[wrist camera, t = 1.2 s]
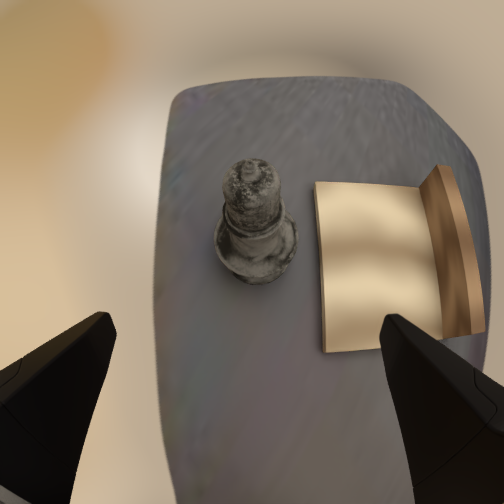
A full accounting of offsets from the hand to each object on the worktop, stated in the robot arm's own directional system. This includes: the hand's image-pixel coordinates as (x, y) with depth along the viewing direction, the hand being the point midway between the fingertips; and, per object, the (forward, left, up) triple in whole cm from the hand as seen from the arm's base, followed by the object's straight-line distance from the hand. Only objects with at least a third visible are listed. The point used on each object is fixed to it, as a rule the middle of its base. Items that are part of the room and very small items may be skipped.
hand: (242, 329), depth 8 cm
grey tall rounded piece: (+7, 0, -13) cm, 15 cm away
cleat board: (+6, -11, -13) cm, 18 cm away
